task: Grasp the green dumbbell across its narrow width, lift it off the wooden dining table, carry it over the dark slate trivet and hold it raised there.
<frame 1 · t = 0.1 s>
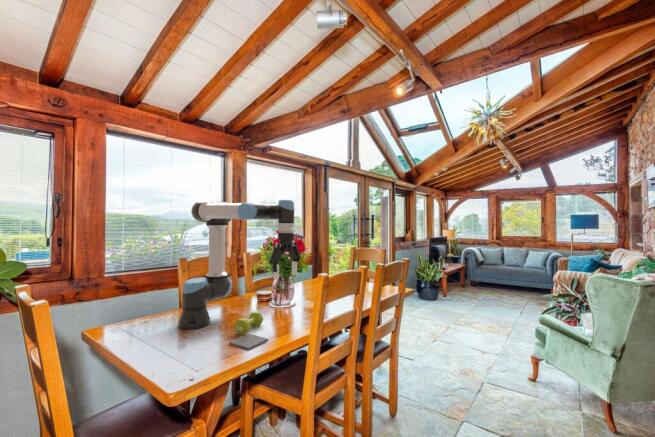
hand: (285, 276, 150), 28 cm above the table, fingers open, 13 cm apart
trivet: (248, 342, 141), on the table
dumbbell: (249, 330, 157), on the table
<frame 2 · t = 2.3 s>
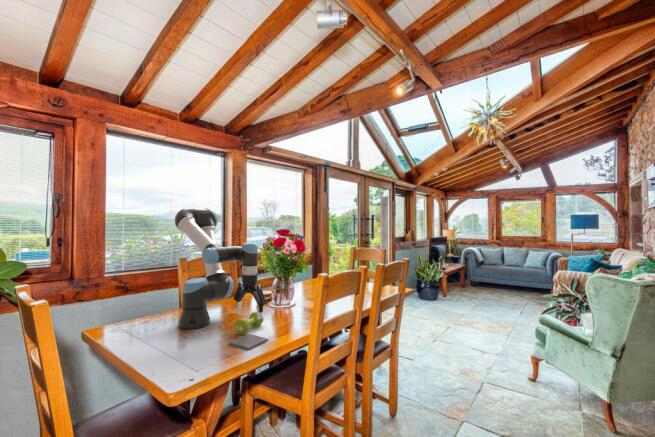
hand: (249, 316, 157), 6 cm above the table, fingers open, 13 cm apart
nothing on the table moved.
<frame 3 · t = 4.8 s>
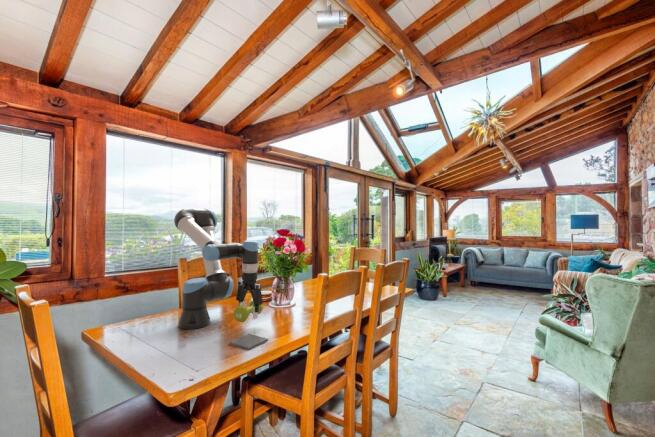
hand: (248, 316, 158), 6 cm above the table, fingers closed on dumbbell, 8 cm apart
dumbbell: (248, 317, 158), point 6 cm above the table, touching gripper
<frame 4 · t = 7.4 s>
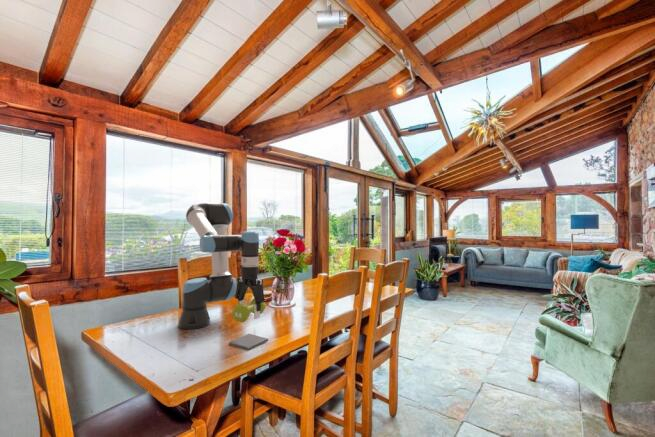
hand: (249, 316, 141), 12 cm above the table, fingers closed on dumbbell, 8 cm apart
dumbbell: (249, 317, 141), point 11 cm above the table, touching gripper
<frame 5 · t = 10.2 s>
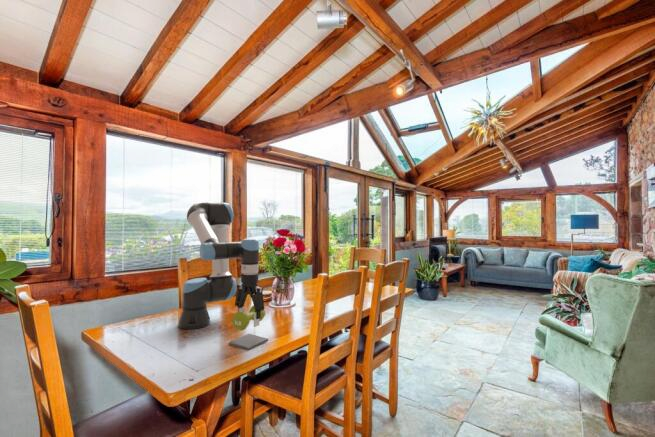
hand: (249, 323, 141), 8 cm above the table, fingers closed on dumbbell, 8 cm apart
dumbbell: (249, 325, 141), point 8 cm above the table, touching gripper
at the end: the gripper is holding dumbbell; dumbbell inside the target area on the trivet (0.1 cm from its centre), point 7.7 cm above the trivet's base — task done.
